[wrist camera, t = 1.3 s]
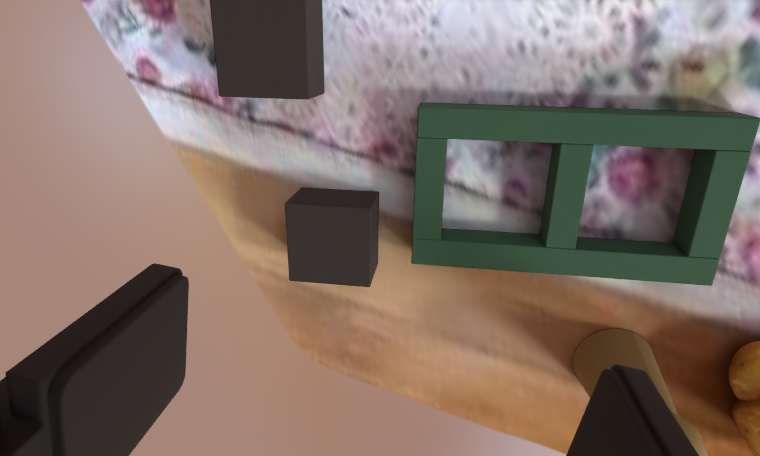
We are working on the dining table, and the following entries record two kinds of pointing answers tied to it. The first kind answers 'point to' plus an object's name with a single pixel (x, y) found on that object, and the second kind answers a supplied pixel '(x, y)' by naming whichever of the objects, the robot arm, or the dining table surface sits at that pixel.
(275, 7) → the pad
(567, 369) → the dining table surface
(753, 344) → the bread roll
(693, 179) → the green rectangular frame
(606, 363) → the pepper mill
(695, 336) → the dining table surface
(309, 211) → the pad
